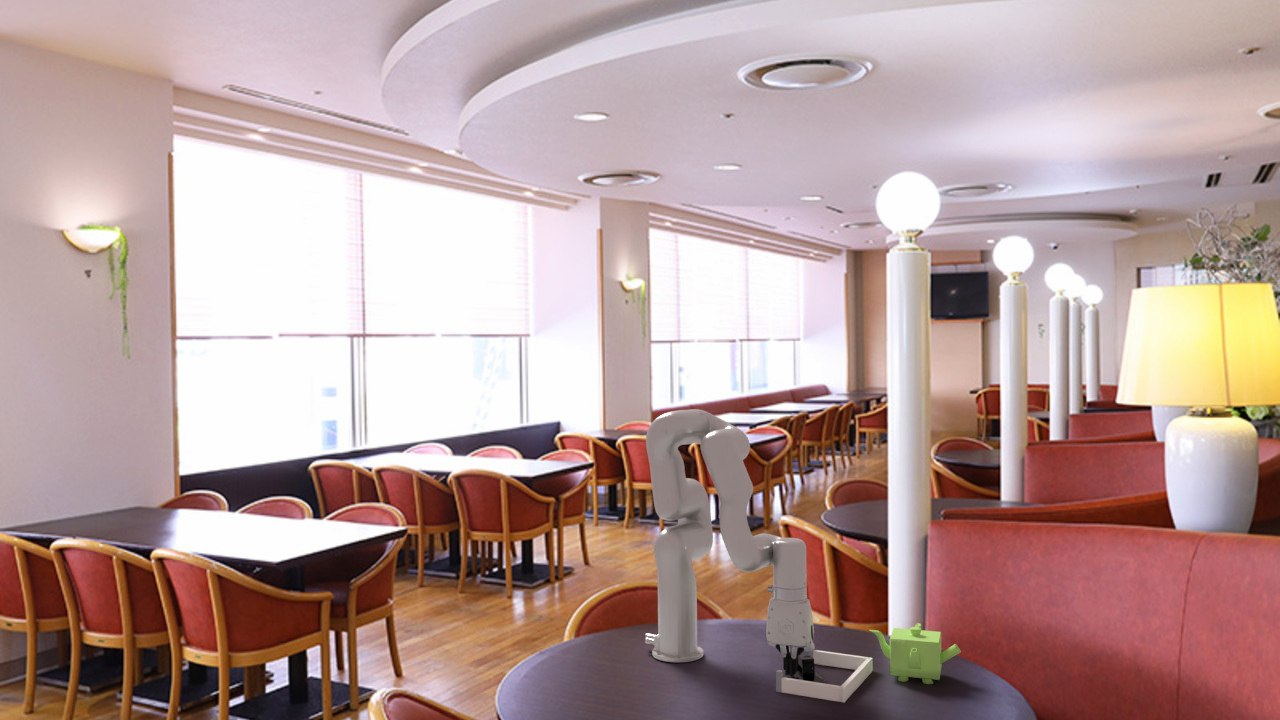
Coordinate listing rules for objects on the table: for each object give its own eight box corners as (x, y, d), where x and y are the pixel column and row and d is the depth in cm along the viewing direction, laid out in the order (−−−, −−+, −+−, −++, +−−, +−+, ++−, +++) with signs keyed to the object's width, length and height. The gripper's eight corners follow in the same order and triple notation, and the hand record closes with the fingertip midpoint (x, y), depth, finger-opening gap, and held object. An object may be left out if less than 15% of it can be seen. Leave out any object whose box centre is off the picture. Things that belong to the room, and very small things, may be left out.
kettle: (868, 672, 220) (868, 624, 220) (915, 663, 226) (915, 616, 226) (915, 692, 207) (914, 640, 207) (963, 682, 213) (963, 631, 213)
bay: (776, 691, 208) (775, 671, 208) (809, 661, 228) (809, 643, 228) (844, 702, 201) (844, 681, 201) (872, 670, 221) (872, 651, 221)
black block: (830, 685, 214) (830, 664, 214) (799, 687, 212) (799, 666, 212) (810, 667, 226) (810, 647, 226) (780, 669, 224) (780, 649, 224)
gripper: (753, 593, 218) (754, 674, 218) (816, 600, 211) (817, 684, 211) (765, 586, 224) (765, 664, 224) (826, 593, 217) (827, 674, 217)
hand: (790, 673), depth 217 cm, fingers closed
